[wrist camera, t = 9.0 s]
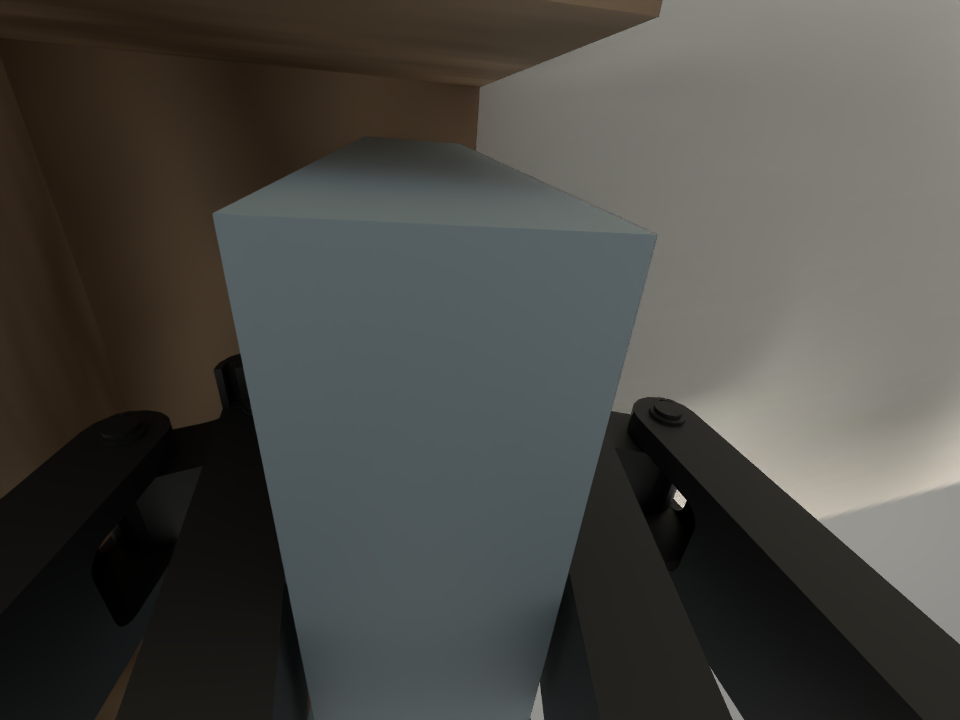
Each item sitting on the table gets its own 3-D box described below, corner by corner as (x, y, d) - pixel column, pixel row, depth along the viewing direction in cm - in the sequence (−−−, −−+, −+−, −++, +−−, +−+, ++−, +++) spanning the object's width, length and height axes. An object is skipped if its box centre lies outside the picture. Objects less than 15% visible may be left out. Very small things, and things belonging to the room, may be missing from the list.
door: (360, 497, 20) (314, 927, 9) (336, 134, 13) (50, 205, 2) (463, 491, 20) (527, 881, 10) (491, 146, 14) (783, 241, 3)
